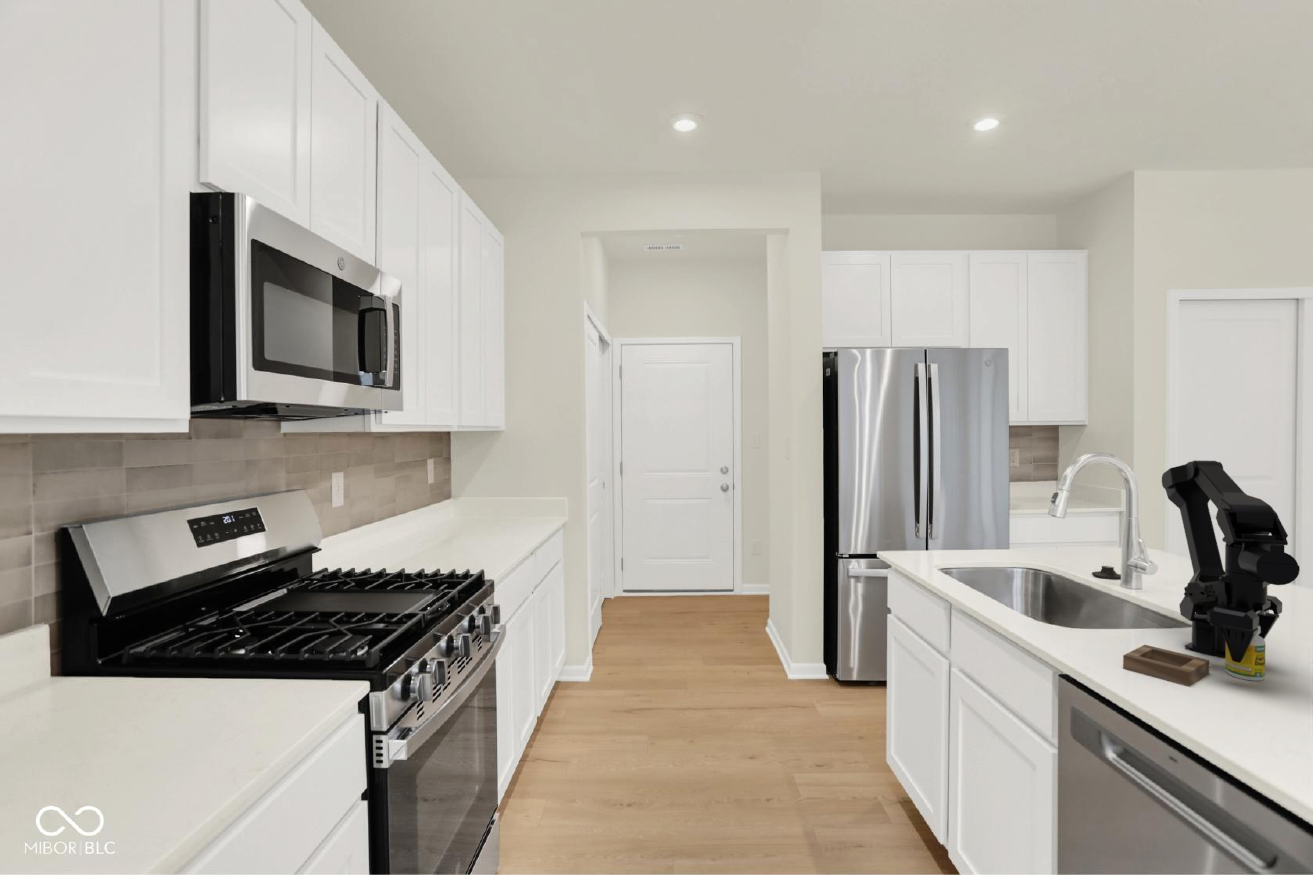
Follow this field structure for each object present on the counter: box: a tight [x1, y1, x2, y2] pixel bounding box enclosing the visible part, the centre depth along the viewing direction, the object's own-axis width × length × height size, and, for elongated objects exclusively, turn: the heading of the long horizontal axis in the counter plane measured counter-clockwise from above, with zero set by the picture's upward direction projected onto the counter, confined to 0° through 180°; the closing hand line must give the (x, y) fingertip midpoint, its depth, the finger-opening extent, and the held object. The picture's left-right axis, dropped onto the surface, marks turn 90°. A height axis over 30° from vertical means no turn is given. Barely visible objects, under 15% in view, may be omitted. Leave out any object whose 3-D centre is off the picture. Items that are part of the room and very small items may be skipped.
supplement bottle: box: [1224, 625, 1266, 682], centre depth 117 cm, size 5×5×10 cm
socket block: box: [1122, 644, 1210, 687], centre depth 119 cm, size 10×10×2 cm
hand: (1244, 656), depth 117 cm, fingers open, 9 cm apart
